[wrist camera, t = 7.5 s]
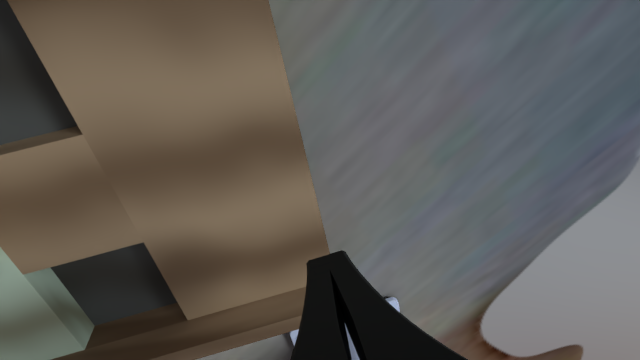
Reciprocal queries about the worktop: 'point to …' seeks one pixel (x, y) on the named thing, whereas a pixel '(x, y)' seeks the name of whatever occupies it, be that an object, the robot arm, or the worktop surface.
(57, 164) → the box
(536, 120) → the worktop surface
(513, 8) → the worktop surface
